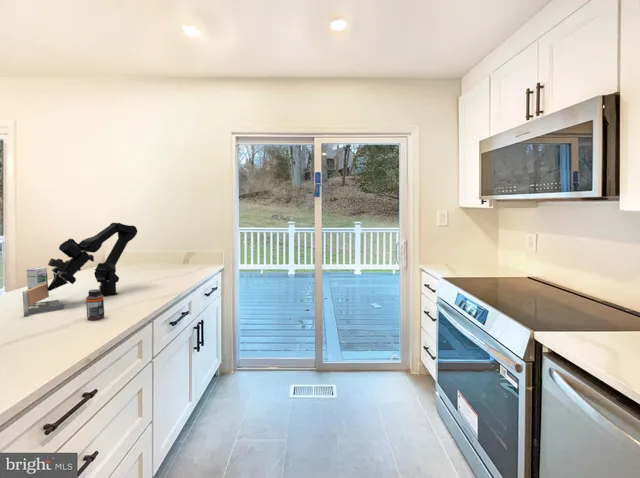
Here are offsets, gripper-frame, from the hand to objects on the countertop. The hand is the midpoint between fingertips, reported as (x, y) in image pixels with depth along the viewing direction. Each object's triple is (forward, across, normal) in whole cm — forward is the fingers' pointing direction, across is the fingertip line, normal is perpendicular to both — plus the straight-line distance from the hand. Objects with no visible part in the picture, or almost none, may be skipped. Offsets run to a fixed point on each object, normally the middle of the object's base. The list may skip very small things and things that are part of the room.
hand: (48, 290), depth 163 cm
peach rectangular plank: (+5, +4, -1) cm, 7 cm away
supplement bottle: (-2, +33, +12) cm, 35 cm away
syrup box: (+5, -23, +5) cm, 24 cm away
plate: (+7, +5, +3) cm, 9 cm away
